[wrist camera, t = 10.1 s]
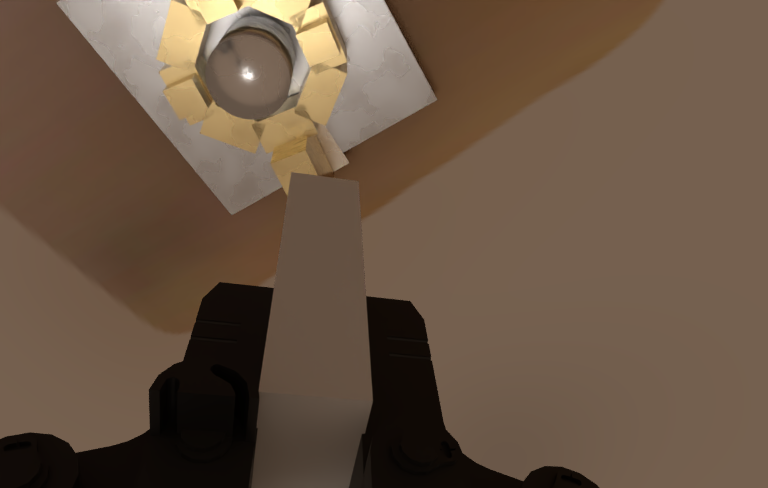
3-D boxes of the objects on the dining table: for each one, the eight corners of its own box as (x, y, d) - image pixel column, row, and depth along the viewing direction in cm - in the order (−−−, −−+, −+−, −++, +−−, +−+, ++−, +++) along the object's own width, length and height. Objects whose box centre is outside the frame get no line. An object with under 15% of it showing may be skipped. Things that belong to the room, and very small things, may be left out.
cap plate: (66, -2, 35) (16, 22, 30) (296, -165, 32) (288, -171, 26) (241, 213, 43) (227, 263, 38) (439, 102, 40) (455, 140, 34)
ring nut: (136, 5, 34) (109, 24, 30) (298, -67, 33) (293, -57, 29) (251, 204, 41) (242, 241, 37) (388, 152, 40) (394, 185, 36)
